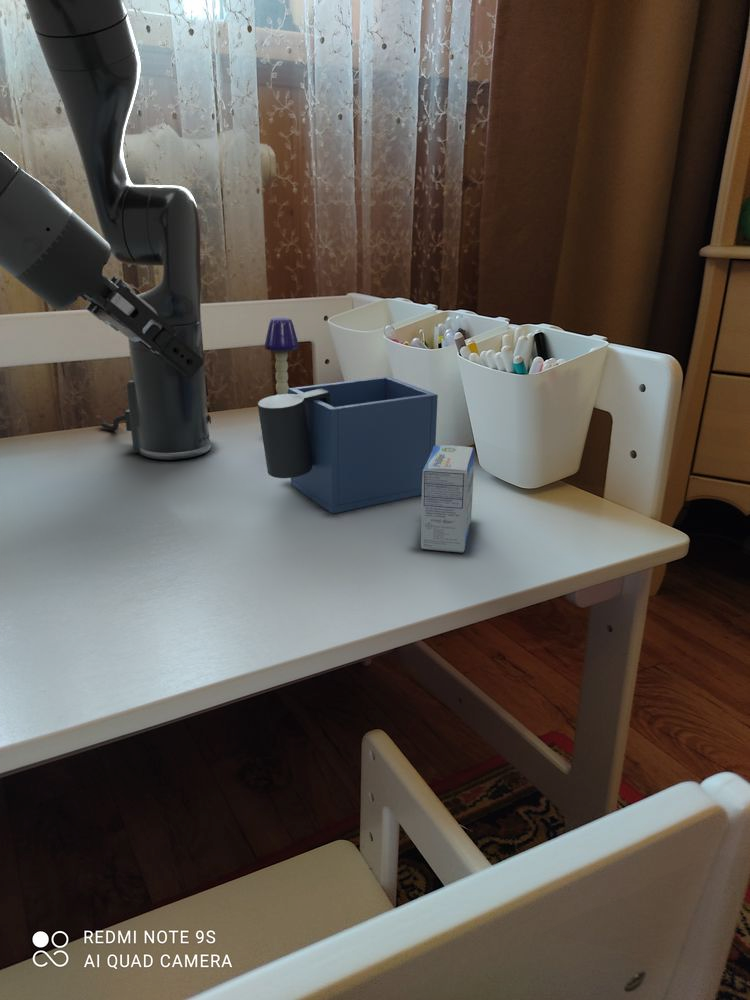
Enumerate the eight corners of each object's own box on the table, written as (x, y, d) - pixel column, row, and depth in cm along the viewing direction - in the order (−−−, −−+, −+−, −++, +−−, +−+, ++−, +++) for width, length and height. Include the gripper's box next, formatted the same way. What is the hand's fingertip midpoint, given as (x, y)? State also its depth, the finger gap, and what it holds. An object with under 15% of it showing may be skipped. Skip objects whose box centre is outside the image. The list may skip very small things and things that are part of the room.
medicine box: (464, 554, 75) (469, 471, 72) (419, 550, 76) (422, 467, 73) (471, 523, 83) (476, 446, 79) (429, 519, 83) (433, 443, 80)
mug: (279, 482, 83) (269, 411, 80) (260, 468, 87) (250, 400, 84) (343, 463, 86) (336, 395, 83) (322, 451, 90) (315, 385, 87)
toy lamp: (265, 433, 112) (260, 317, 106) (296, 430, 114) (293, 315, 108) (272, 442, 108) (267, 322, 102) (304, 439, 110) (301, 320, 103)
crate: (332, 514, 85) (331, 409, 80) (290, 484, 93) (287, 388, 89) (433, 492, 91) (438, 394, 87) (386, 466, 100) (388, 376, 95)
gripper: (85, 209, 60) (233, 344, 70) (52, 204, 71) (183, 320, 81) (23, 283, 59) (181, 408, 69) (-1, 266, 71) (138, 375, 80)
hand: (182, 361), depth 75 cm, fingers open, 8 cm apart
